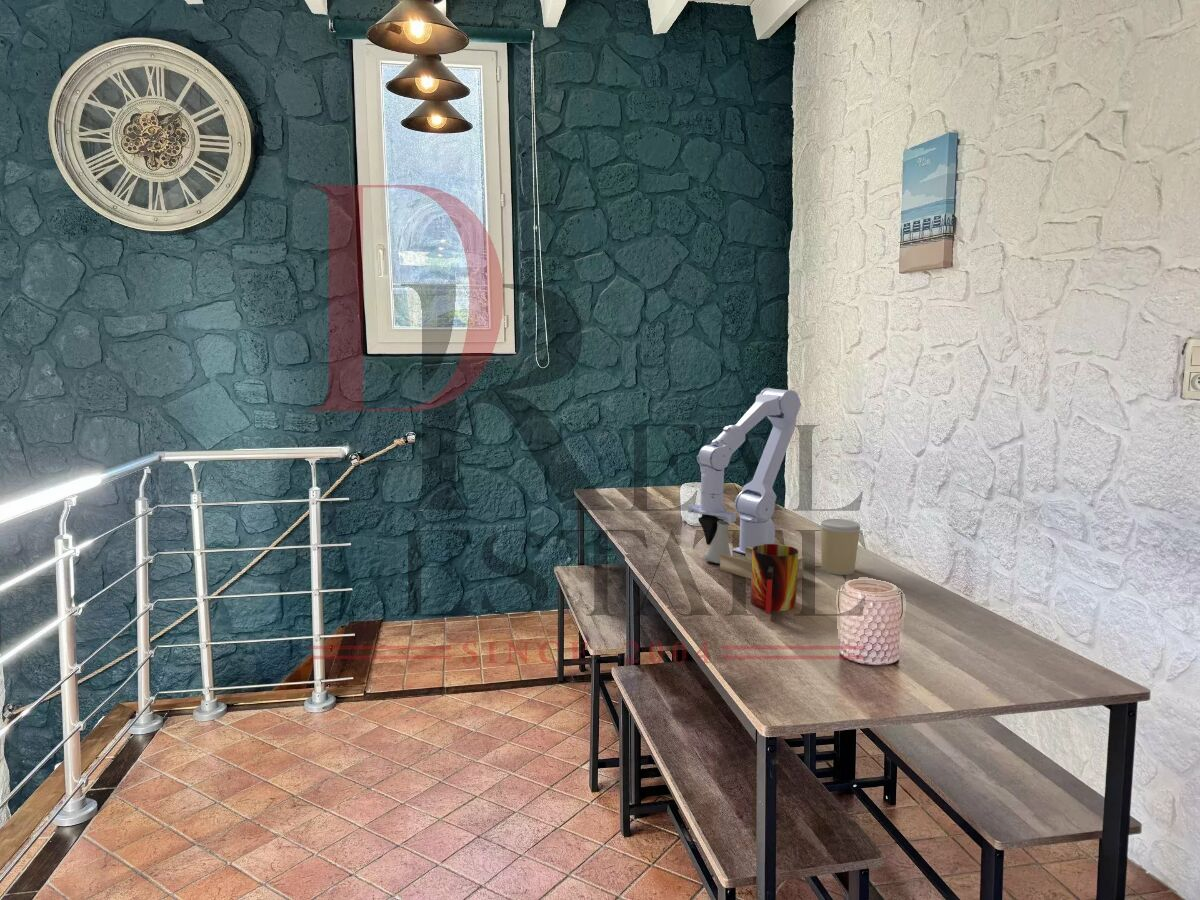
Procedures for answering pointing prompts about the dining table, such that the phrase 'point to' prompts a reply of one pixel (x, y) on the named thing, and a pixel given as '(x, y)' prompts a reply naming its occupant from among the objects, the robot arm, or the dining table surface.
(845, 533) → the coffee cup
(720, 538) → the flask
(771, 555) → the mug
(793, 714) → the dining table surface
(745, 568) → the lane
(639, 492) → the dining table surface
